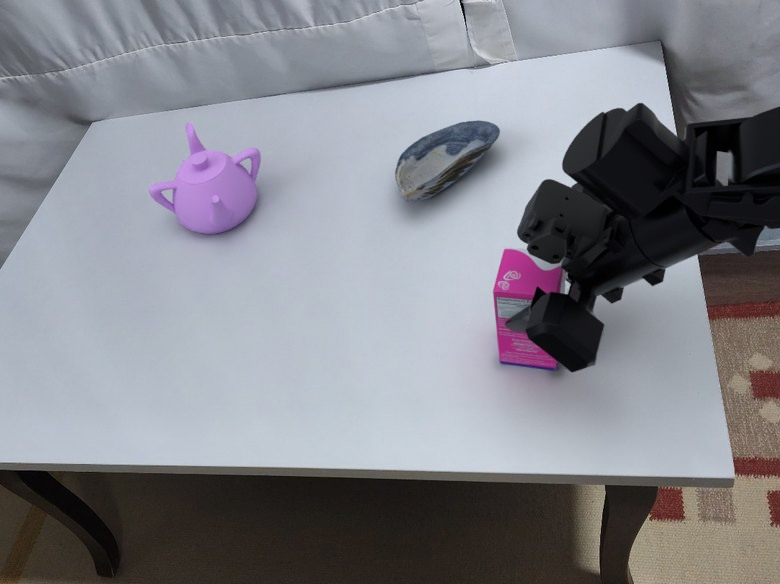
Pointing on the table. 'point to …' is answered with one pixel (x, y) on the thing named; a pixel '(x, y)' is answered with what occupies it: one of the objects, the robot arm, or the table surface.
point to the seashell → (442, 158)
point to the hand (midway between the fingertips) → (516, 302)
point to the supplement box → (522, 304)
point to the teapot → (211, 188)
